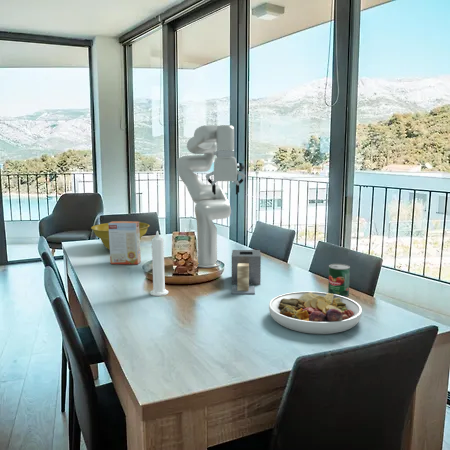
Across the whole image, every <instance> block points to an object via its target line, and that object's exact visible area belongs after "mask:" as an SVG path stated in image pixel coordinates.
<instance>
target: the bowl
mask: <svg viewBox="0 0 450 450" xmlns="http://www.w3.org/2000/svg"><path fill="white" fill-rule="evenodd" d="M268 310H269V313H270V316H271V318H272V319H273V320H274V321H275V322H276V323H278V324H279V325H281V326H283V327H284V328H286V329H290V330H292V331H295V332H300V333H305V334H311V335H330V334H338V333H342V332H345V331H349V330H350V329H353V328H354V327H355V326H356V325H357V324H358V323H359V322H360V320H361V318H362V311H363V309H362V306H361V305H360V304H359V303H358V302H356V301H355V300H353V299H351V298H348V297H347V296H345V297H343V296H340V295H335V294H331V293H328V292H321V291H294V292H287V293H283V294H280V295H278V296H274V297H273V298H271V300H270V301H269V303H268Z"/></svg>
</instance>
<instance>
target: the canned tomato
mask: <svg viewBox="0 0 450 450" xmlns="http://www.w3.org/2000/svg"><path fill="white" fill-rule="evenodd" d="M350 269H351V266H350V265H348V264H345V263H344V264H343V263H332V264H329V265H328V288H327V289H328V292H327V293H331V294H335V295H340V296H343V297H348V296H349V295H350V271H351V270H350Z"/></svg>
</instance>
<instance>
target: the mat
mask: <svg viewBox="0 0 450 450" xmlns="http://www.w3.org/2000/svg"><path fill="white" fill-rule="evenodd" d="M231 288H232V289H231V295H256V288H255V285H249V291H237V285H232V287H231Z"/></svg>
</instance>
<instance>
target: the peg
mask: <svg viewBox="0 0 450 450" xmlns="http://www.w3.org/2000/svg"><path fill="white" fill-rule="evenodd" d="M236 286H237V291H249V286H250V284H249V263H238V266H237V284H236Z"/></svg>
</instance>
